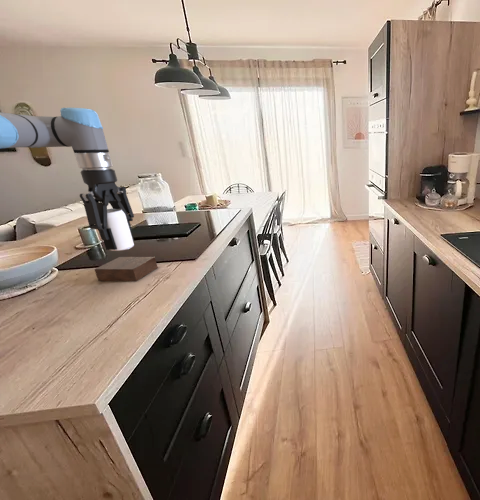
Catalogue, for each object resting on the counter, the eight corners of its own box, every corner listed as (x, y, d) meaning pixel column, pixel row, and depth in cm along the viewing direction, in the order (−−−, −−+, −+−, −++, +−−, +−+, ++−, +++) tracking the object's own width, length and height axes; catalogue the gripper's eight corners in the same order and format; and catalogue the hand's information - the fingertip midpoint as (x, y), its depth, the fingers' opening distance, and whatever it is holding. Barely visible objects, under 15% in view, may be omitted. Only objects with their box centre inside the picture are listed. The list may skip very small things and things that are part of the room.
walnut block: (98, 280, 88) (94, 269, 87) (123, 267, 97) (119, 256, 96) (136, 281, 88) (133, 269, 86) (157, 267, 97) (154, 256, 96)
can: (114, 253, 85) (101, 213, 81) (105, 249, 89) (92, 211, 84) (138, 246, 90) (127, 209, 86) (128, 243, 94) (118, 207, 89)
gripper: (79, 172, 72) (107, 257, 80) (135, 166, 90) (153, 235, 98) (50, 172, 72) (81, 257, 80) (111, 166, 90) (131, 235, 98)
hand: (120, 245), depth 89 cm, fingers closed on can, 6 cm apart
